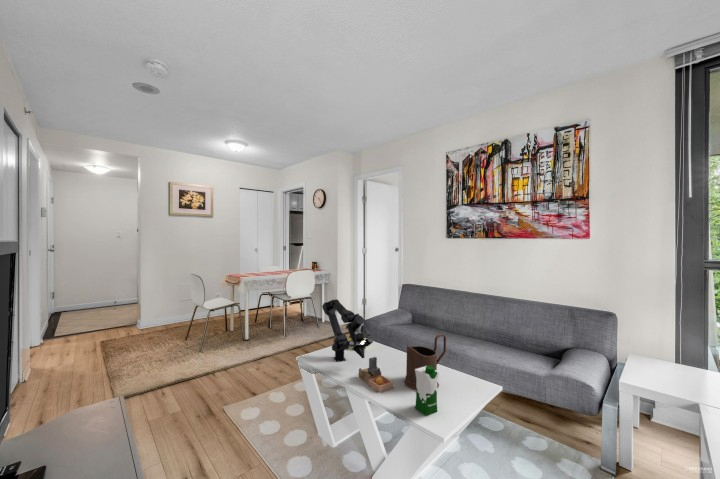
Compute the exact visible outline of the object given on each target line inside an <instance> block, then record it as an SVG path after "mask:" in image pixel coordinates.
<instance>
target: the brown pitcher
mask: <svg viewBox="0 0 720 479" xmlns="http://www.w3.org/2000/svg"><path fill="white" fill-rule="evenodd" d="M440 337H442V338H443V351H442V353H441V354H440V355H439V356H438V353H437V348H438V339H439V338H440ZM446 352H447V336H446V335H445V334H442V333H440V334H437V335H436V336H435V337H434V348H433V349H432V348H429V347H427V346H424V345H423V346H421V345H414V346H413V345H412V346H410V345H406V368H405V369H406V370H405V371H406V374H405V378H404V380H403V385H405V387H407V388H408V389H410V390H411V391H412V390H413V391H416V381H417V379H416V373H415V369H417V368H421V367H425V366H433V367H435V370H436V371H438V370H437V369H438V367H437V365H438V364H439V362H440V361H441V360H442V358H443V357H444V356H445V354H446ZM439 387H440V384H439V381H437V389H439Z"/></svg>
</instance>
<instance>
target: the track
mask: <svg viewBox="0 0 720 479" xmlns="http://www.w3.org/2000/svg"><path fill="white" fill-rule="evenodd" d="M368 368H369V367H367V368H361V367H359V368H358V379H360V380H362V381H363V382H365V383H366V384H367V385H368V380H369V379H372V378H375V377H379V376H382V371H381V370H380V375H376V376H373V377H372V376H371V375H370V374H369V373H368Z"/></svg>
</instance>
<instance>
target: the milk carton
mask: <svg viewBox="0 0 720 479" xmlns="http://www.w3.org/2000/svg"><path fill="white" fill-rule="evenodd" d="M415 373H416V379H417V381H416V390H415V406H414V409H415V410H417V411H418V412H420V413H421V414H422V415H424V416H425V417H426V416H427V417H428V416H429V415H432V414H434V413H437V412H438V388H437V382H438V380H439V379H438V378H439V375H440V371H438V370H437V371H436V370H435V367H433V366H425V367H421V368H417V369H415Z"/></svg>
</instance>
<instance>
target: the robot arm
mask: <svg viewBox="0 0 720 479" xmlns="http://www.w3.org/2000/svg"><path fill="white" fill-rule="evenodd" d="M322 310H323V312H324V314H325V315H327V316H328V320H329V323H330V327H331V329H332V331H333V335H334V337H333V344H332V345H331V350H332V351H334V352H335V353H334V356H333V357H332V358H333V359H334V360H333V361H334V362H343V361H344V362H345V361H346V358H345V350H346V351H347V350H349V348H350V347H352V349H351V350H352V351H354V352H355V353H357V355H359V357H360V358H361V359H365V349H364V348H365V347H366V348H367V347H369V346H370V345H372V344H373V343H374V341H373V338H372V337H370V336H371V335H370V332H369V330H365V331H364V332H361V331H359V329H360V327H361V326H362V325H363V324H364V323H365V318H364V317H363V316H361V315H360V314H359V313H354V312H353V311H351V310H349V309H346V308H345V306H344V305H343V304H342V303H341V302H340V300H339V299H331V300H329V301H327V302H323V304H322ZM336 312H337V313H338V314H339V315H340V318H341V321H342V322H343V323H344V324H346V326H345V330H348V333H349V334H350V336H349V334H348V338H347V335H346V334H344V333H343V332H342V329H341V326H340V324H339V320H338V317H337V314H336ZM369 337H370V338H369ZM349 338H351V341H349ZM364 339H365V340H364ZM362 340H364V341H362Z"/></svg>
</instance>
